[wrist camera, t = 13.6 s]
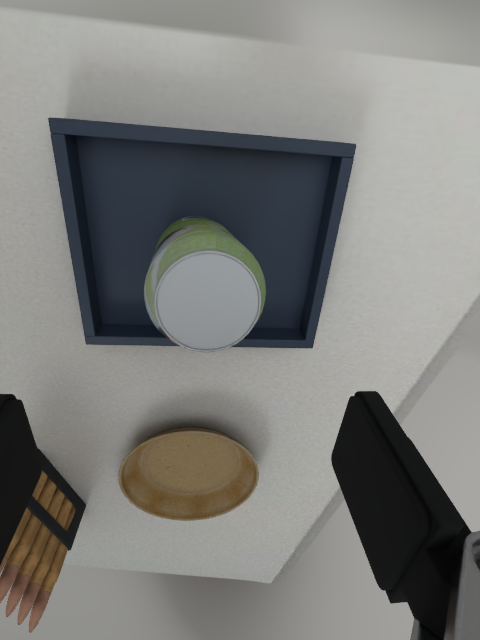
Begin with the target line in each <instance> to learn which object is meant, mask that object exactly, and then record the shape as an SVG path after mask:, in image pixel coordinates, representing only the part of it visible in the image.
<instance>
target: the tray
mask: <svg viewBox="0 0 480 640" xmlns="http://www.w3.org/2000/svg"><path fill="white" fill-rule="evenodd" d="M48 120H49V126H50V132H51V139H52V145H53V151H54V157H55V163H56V169H57V175H58V181H59V187H60V193H61V199H62V204H63V210H64V216H65V222H66V228H67V234H68V240H69V246H70V252H71V258H72V264H73V270H74V275H75V281H76V287H77V293H78V299H79V305H80V311H81V317H82V323H83V329H84V335H85V340H86V344H93V345H152V346H180V345H178V344H176V343H174V342H172V341H170V340H169V339H168V338H167V337H165V336H164V335H163V334H162V333H161V332H160V331H159V330H158V329H157V328H156V326H155V325H154V323H153V322H152V320H151V319H150V316H149V314H148V311H147V309H146V304H145V300H144V285H145V279H146V275H147V272H148V270H149V267H150V264H151V261H152V258H153V255H154V252H155V249H156V246H157V244H158V241H159V238H160V237H161V235H162V233H163V232H164V231H165V230H166V228H167V227H168V226H170V225H171V224H172V223H174V222H175V221H177V220H179V219H181V218H185V217H189V216H203V217H207V218H210V219H213V220H215V221H217V222H218V223H220V224H221V225H223V226H224V227H225V228H226V229H227V230H228V231H229V232H230V233H231V234H232V235H233V236H234V237H235V238H236V239H237V240H238V241H239V242H241V243H242V244H243V245H244V246H245V247H246V248H247V249H248V250H249V251H250V252H251V253H252V254H253V256H254V257H255V259H256V260H257V261H258V263H259V265H260V267H261V270H262V272H263V275H264V279H265V286H266V296H265V303H264V307H263V310H262V313H261V315H260V317H259V319H258V321H257V322H256V324H255V325H254V327H253V328H252V329H251V331H250V332H249V333H248V334H247V335H246V336H245V337H244V338H243V339H242V340H241V341H239V342H238V343H237V344H235V345H233V346H231V347H268V348H313V344H314V340H315V335H316V330H317V326H318V321H319V316H320V312H321V307H322V303H323V298H324V293H325V289H326V284H327V279H328V275H329V270H330V266H331V261H332V256H333V252H334V247H335V243H336V238H337V233H338V229H339V224H340V219H341V215H342V210H343V206H344V201H345V196H346V192H347V187H348V182H349V178H350V173H351V169H352V164H353V157H354V154H355V149H356V144H350V143H342V142H330V141H319V140H307V139H296V138H284V137H272V136H261V135H249V134H238V133H226V132H215V131H203V130H192V129H180V128H169V127H157V126H146V125H134V124H123V123H111V122H100V121H88V120H77V119H65V118H48Z"/></svg>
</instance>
